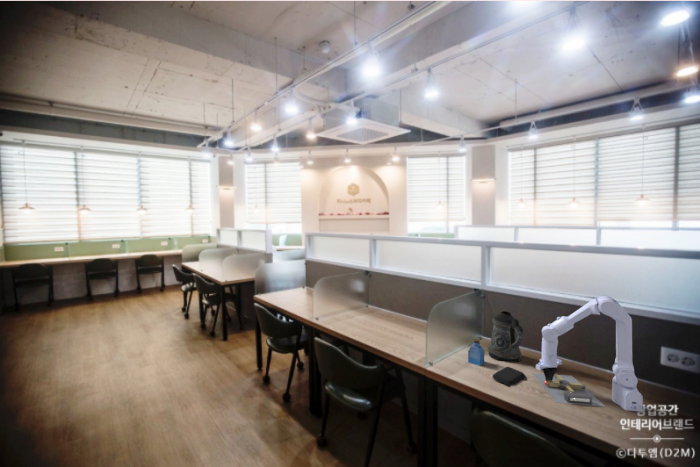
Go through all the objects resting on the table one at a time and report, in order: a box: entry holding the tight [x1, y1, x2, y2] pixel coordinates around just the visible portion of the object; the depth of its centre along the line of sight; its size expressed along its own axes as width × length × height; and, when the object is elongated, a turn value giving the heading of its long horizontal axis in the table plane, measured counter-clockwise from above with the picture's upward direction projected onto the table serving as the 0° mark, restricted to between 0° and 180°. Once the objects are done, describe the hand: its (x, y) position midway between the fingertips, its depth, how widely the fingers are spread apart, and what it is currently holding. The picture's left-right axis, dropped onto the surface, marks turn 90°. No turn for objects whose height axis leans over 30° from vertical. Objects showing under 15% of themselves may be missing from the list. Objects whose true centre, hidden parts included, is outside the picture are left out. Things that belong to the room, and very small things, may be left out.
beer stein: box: [487, 310, 526, 363], centre depth 165 cm, size 16×19×25 cm
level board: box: [531, 372, 606, 408], centre depth 134 cm, size 24×18×1 cm
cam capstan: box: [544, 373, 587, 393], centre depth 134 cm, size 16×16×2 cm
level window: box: [564, 392, 592, 404], centre depth 123 cm, size 3×9×3 cm, turn 81°
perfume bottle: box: [467, 338, 485, 367], centre depth 160 cm, size 6×6×12 cm
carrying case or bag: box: [492, 366, 527, 387], centre depth 143 cm, size 11×3×15 cm
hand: (548, 382), depth 137 cm, fingers closed, pressing on cam capstan
